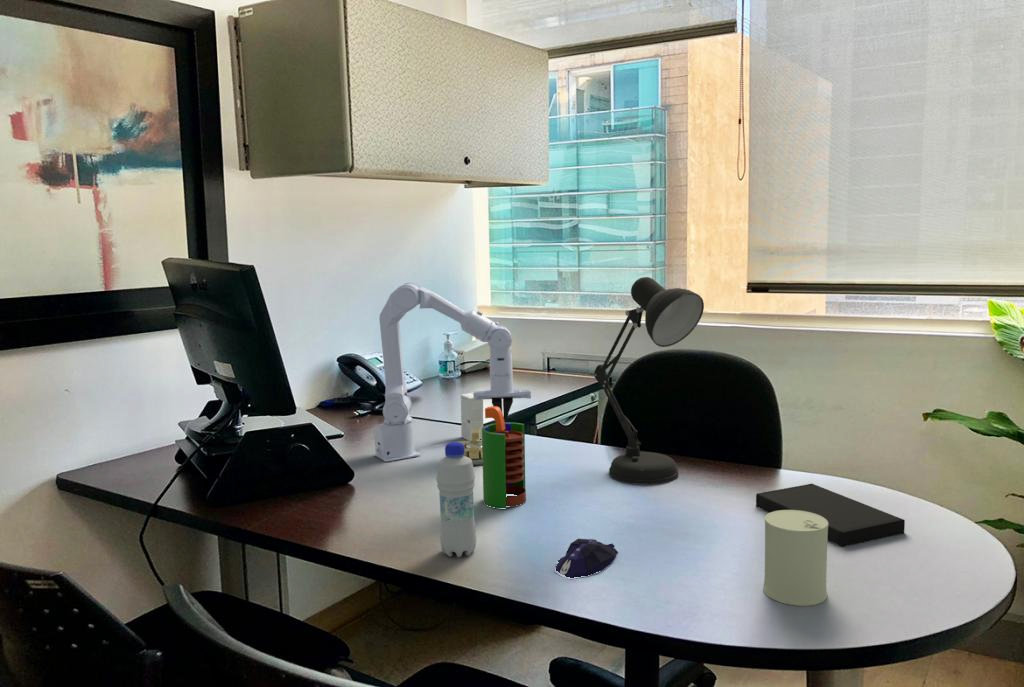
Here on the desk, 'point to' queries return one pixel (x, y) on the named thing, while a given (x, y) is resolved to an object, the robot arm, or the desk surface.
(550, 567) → the desk surface
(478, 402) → the skincare box
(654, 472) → the desk lamp
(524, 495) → the coil heat exchanger
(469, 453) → the brass valve fitting
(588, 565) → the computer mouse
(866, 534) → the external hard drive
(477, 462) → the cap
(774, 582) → the can
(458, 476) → the bottle
